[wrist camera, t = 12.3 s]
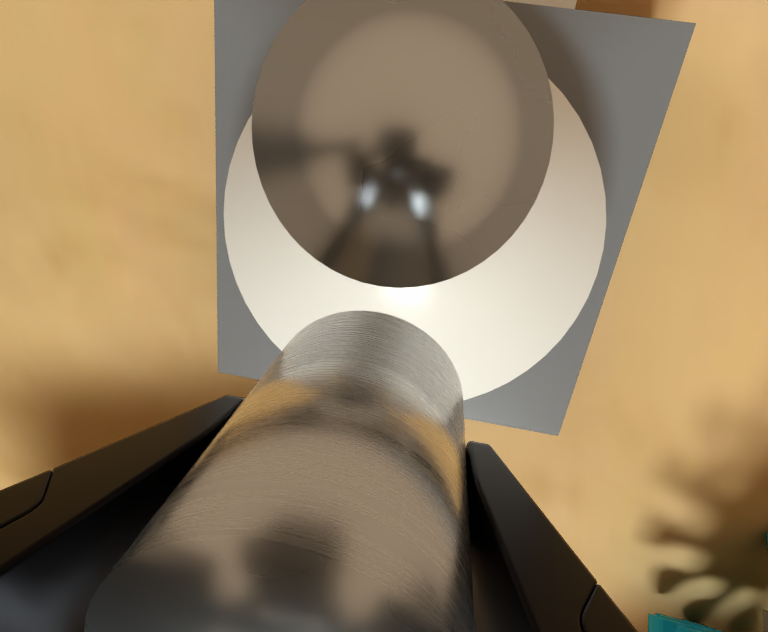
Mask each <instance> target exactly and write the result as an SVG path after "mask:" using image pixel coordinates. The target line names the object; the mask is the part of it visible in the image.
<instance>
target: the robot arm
mask: <svg viewBox="0 0 768 632" xmlns="http://www.w3.org/2000/svg"><path fill="white" fill-rule="evenodd" d="M244 399H245V398H241V397H236V396H231V395H226V396H223V397H221V398H218V399H216V400H214V401H211V402H209V403H207V404H204V405H202V406H200V407H197V408H195V409H192V410H190V411H188V412H185V413H183V414H181V415H178V416H176V417H174V418H171V419H169V420H167V421H164V422H162V423H159V424H157V425H155V426H152V427H150V428H148V429H145V430H143V431H141V432H138V433H136V434H134V435H131V436H129V437H126V438H124V439H122V440H119V441H117V442H115V443H112V444H110V445H108V446H105V447H103V448H100V449H98V450H96V451H93V452H91V453H89V454H86V455H84V456H82V457H79V458H77V459H74V460H72V461H70V462H67V463H65V464H63V465H60V466H58V467H55V468H54V469H53V471H50V470H48V471H46V472H43V473H41V474H39V475H36V476H34V477H32V478H29V479H27V480H25V481H22V482H20V483H17V484H15V485H12V486H10V487H7V488H5V489H2V490H0V632H84V627H85V618H86V613H87V610H88V607H89V604H90V601H91V599H92V597H93V596H94V594H95V592H96V591H97V589H98V587H99V586H100V584H101V583H102V582H103V580H104V579H105V578H106V577H107V575H108V574H109V573H110V571H111V570H112V569H113V568H114V566H115V565H116V564H117V562H118V561H119V560H120V559H121V557H122V556H123V555H124V553H125V552H126V551H127V550H128V548H129V547H130V546H131V544H132V543H133V542H134V541H135V539H136V538H137V537H138V535H139V534H140V533H141V532H142V530H143V529H144V528H145V526H146V525H147V524H148V523H149V521H150V520H151V519H152V517H153V516H154V515H155V514H156V512H157V511H158V510H159V508H160V507H161V506H162V505H163V503H164V502H165V501H166V499H167V498H168V497H169V496H170V494H171V493H172V492H173V490H174V489H175V488H176V487H177V485H178V484H179V483H180V481H181V480H182V479H183V478H184V476H185V475H186V474H187V472H188V471H189V470H190V469H191V467H192V466H193V465H194V463H195V462H196V461H197V460H198V458H199V457H200V456H201V454H202V453H203V452H204V451H205V449H206V448H207V447H208V445H209V444H210V443H211V442H212V440H213V439H214V438H215V436H216V435H217V434H218V433H219V431H220V430H221V429H222V427H223V426H224V425H225V424H226V422H227V421H228V420H229V418H230V417H231V416H232V415H233V413H234V412H235V411H236V409H237V408H238V407H239V406H240V404H241V403H242V402H243V400H244ZM466 467H467V487H468V506H469V525H470V545H471V564H472V584H473V603H474V622H475V632H638V631H637V630H636V629H635V627H634V626H633V625H632V624H631V623H630V621H629V620H628V619H627V618H626V616H625V615H624V614H623V613H622V612H621V610H620V609H619V608H618V607H617V606H616V604H615V603H614V602H613V601H612V599H611V598H610V597H609V595H608V594H607V593H606V592H605V590H604V589H603V588H602V587H601V586H600V585H596V584H597V581H596V579H595V578H594V577H593V575H592V574H591V573H590V572H589V570H588V569H587V568H586V567H585V565H584V564H583V563H582V561H581V560H580V559H579V558H578V556H577V555H576V554H575V553H574V551H573V550H572V549H571V548H570V546H569V545H568V544H567V542H566V541H565V540H564V539H563V537H562V536H561V535H560V534H559V532H558V531H557V530H556V529H555V527H554V526H553V525H552V523H551V522H550V521H549V520H548V518H547V517H546V516H545V515H544V513H543V512H542V511H541V509H540V508H539V507H538V506H537V504H536V503H535V502H534V501H533V499H532V498H531V497H530V496H529V494H528V493H527V492H526V490H525V489H524V488H523V487H522V485H521V484H520V483H519V482H518V480H517V479H516V478H515V477H514V475H513V474H512V473H511V471H510V470H509V469H508V468H507V466H506V465H505V464H504V463H503V461H502V460H501V459H500V458H499V456H498V455H497V454H496V452H495V451H494V450H493V449H492V447H491V446H490V445H488V444H484V443H479V442H474V441H470V442H468V443H467V445H466Z"/></svg>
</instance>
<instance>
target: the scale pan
mask: <svg viewBox="0 0 768 632" xmlns="http://www.w3.org/2000/svg"><path fill="white" fill-rule="evenodd" d="M548 80H549V84H550V89H551V93H552V100H553V112H554V132H553V145H552V150H551V156H550V162H549V166H548V169H547V172H546V176H545V179H544V182H543V185H542V187H541V189H540V192H539V194H538V196H537V199H536V201H535V203H534V205H533V206H532V208H531V210H530V211H529V213H528V215H527V216H526V218H525V220H524V221H523V222H522V224H521V225H520V226H519V228H518V229H517V230H516V231H515V233H514V234H513V235H512V236H511V238H510V239H509V240H508V241H507V242H506V243H505V244H504V245H503V246H502V247H501V248H500V249H499V250H497V251H496V252H495V253H494V254H492V255H491V256H490V257H489V258H487V259H486V260H485V261H483V262H482V263H480V264H479V265H477V266H475V267H474V268H472V269H470V270H469V271H467V272H465V273H462V274H460V275H458V276H456V277H453V278H451V279H448V280H445V281H442V282H438V283H435V284H431V285H425V286H419V287H406V288H394V287H382V286H376V285H372V284H367V283H363V282H360V281H357V280H354V279H351V278H348V277H346V276H344V275H342V274H340V273H338V272H335V271H333V270H331V269H330V268H328V267H327V266H325V265H324V264H322V263H321V262H319V261H317V260H316V259H315V258H314V257H312V256H311V255H310V254H309V253H308V252H306V251H305V250H304V249H303V248H302V247H301V246H300V245H299V244H298V243H297V242H296V241H295V240H294V239H293V238H292V237H291V235H290V234H289V233H288V232H287V230H286V229H285V228H284V226H283V225H282V223H281V222H280V221H279V219H278V218H277V216H276V214H275V212H274V211H273V209H272V207H271V205H270V204H269V201H268V199H267V197H266V194H265V192H264V190H263V187H262V185H261V181H260V178H259V175H258V171H257V168H256V163H255V157H254V152H253V144H252V115H251V116H250V118H249V119H248V121H247V123H246V125H245V127H244V129H243V132H242V134H241V136H240V138H239V140H238V142H237V145H236V148H235V151H234V154H233V157H232V160H231V163H230V166H229V172H228V177H227V182H226V188H225V199H224V229H225V240H226V245H227V251H228V256H229V261H230V264H231V267H232V271H233V274H234V277H235V280H236V283H237V285H238V287H239V290H240V292H241V294H242V296H243V298H244V301H245V303H246V305H247V306H248V308H249V310H250V311H251V313H252V315H253V316H254V318H255V320H256V321H257V323H258V324H259V325H260V327H261V328H262V329H263V331H264V332H265V333H266V335H267V336H268V337H269V338H270V340H271V341H272V342H273V343H274V344H275V345H276V346H277V347H278V348H279V349H280V350H281V351H282V350H283V349H284V348H285V346H286V345H287V344H288V343H289V342H290V340H291V339H292V338H293V337H294V336H295V335H296V334H297V333H298V332H299V331H301V330H302V329H303V328H304V327H306V326H307V325H309V324H311V323H312V322H314V321H316V320H318V319H320V318H323V317H325V316H328V315H332V314H335V313H339V312H346V311H373V312H380V313H384V314H388V315H392V316H395V317H398V318H400V319H403V320H405V321H407V322H409V323H411V324H413V325H415V326H417V327H418V328H420V329H421V330H423V331H424V332H426V333H427V334H428V335H429V336H430V337H432V338H433V339H434V340H435V341H436V342H437V343H438V344H439V345H440V346H441V347H442V349H443V350H444V351H445V352H446V354H447V355H448V357H449V358H450V360H451V361H452V363H453V365H454V367H455V369H456V371H457V373H458V376H459V380H460V383H461V387H462V394H463V400H467V399H470V398H473V397H476V396H479V395H482V394H485V393H487V392H490V391H492V390H494V389H496V388H498V387H500V386H502V385H504V384H506V383H508V382H510V381H512V380H513V379H515V378H516V377H518V376H519V375H521V374H523V373H524V372H526V371H527V370H529V369H530V368H531V367H532V366H533V365H535V364H536V363H537V362H538V361H540V360H541V359H542V358H543V357H544V356H546V355H547V353H548V352H549V351H550V350H551V349H552V348H553V347H554V346H555V345H556V344H557V343H558V342H559V341H560V340H561V339H562V337H563V336H564V335H565V333H566V332H567V331H568V329H569V328H570V327H571V325H572V324H573V323H574V321H575V320H576V318H577V316H578V315H579V313H580V311H581V309H582V307H583V306H584V304H585V302H586V300H587V299H588V296H589V294H590V291H591V289H592V286H593V284H594V281H595V279H596V276H597V273H598V269H599V265H600V261H601V257H602V253H603V249H604V240H605V230H606V197H605V190H604V185H603V179H602V173H601V168H600V165H599V162H598V159H597V156H596V153H595V150H594V147H593V144H592V141H591V139H590V137H589V135H588V133H587V131H586V129H585V127H584V125H583V123H582V121H581V119H580V117H579V116H578V114H577V113H576V111H575V110H574V109H573V107H572V106H571V104H570V103H569V101H568V100H567V99H566V97H565V96H564V94H563V93H562V92H561V91H560V90H559V89H558V88H557V87H556V86H555V85H554V84H553V83H552V81H551V80H550V79H549V78H548Z"/></svg>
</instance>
